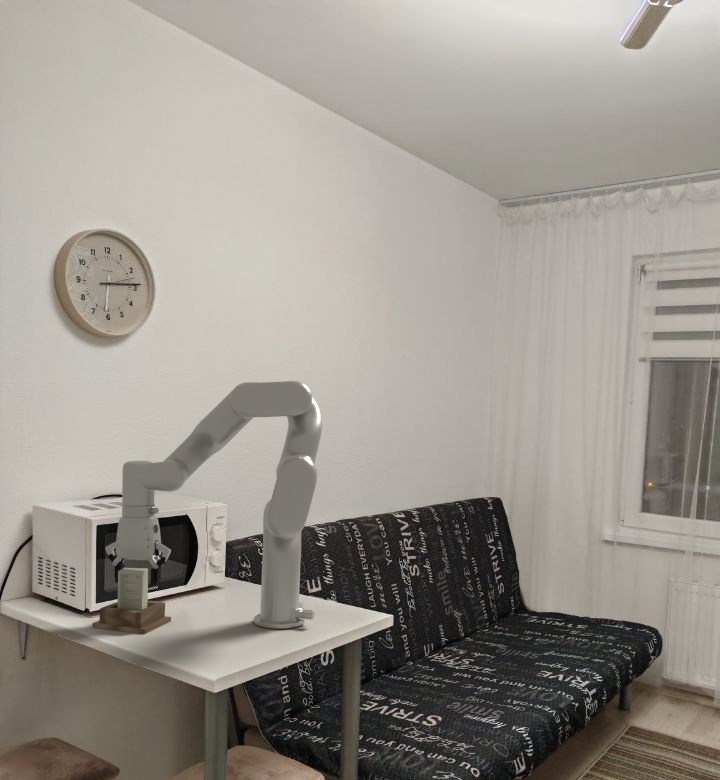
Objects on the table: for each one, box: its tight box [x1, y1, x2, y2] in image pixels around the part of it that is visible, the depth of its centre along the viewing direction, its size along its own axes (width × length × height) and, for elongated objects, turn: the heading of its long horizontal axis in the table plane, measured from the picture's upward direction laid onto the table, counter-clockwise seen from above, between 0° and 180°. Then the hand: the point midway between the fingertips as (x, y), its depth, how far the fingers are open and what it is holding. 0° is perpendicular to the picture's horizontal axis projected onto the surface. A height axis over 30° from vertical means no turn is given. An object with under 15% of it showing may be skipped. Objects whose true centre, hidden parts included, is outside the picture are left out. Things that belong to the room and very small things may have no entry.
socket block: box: [91, 600, 172, 635], centre depth 187 cm, size 14×12×4 cm
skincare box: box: [117, 567, 149, 611], centre depth 187 cm, size 6×4×12 cm
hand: (137, 582), depth 187 cm, fingers open, 9 cm apart
